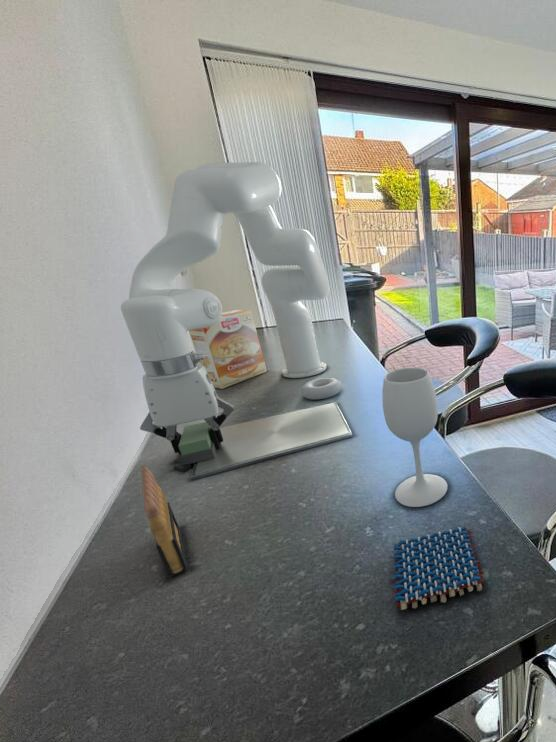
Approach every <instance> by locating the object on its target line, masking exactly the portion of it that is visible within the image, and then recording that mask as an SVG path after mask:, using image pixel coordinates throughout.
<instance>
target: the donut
mask: <svg viewBox="0 0 556 742" xmlns="http://www.w3.org/2000/svg"><path fill="white" fill-rule="evenodd" d="M300 390H301V392H300V393H301V395H302V397H304V398H305V399H307V400H313V401H315V400H325V399H329V398H332V397H334V396H336V395H338V394H339V393H340V392H341V390H342V383H341V381H340V380H338V379H337V378H334V377H320V378H316V379H315V378H314V379H312V380H309V381H308V382H306V383H304V384H303V385H302V386H301V389H300Z"/></svg>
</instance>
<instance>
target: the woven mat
mask: <svg viewBox="0 0 556 742" xmlns="http://www.w3.org/2000/svg"><path fill="white" fill-rule="evenodd" d="M472 540H473V539H472V535H471V534H470V529H467V527H466V526H463V527H459V526H458V527H457V528H456V527H455V528H453V529H451V528H450V529H449V530H444V529H442V532H441V531H438V532H433V534H431V535H430V534H427V535H425V534H424V535H422V536H421V537H420V536H417V537H412V538H410V539H405V540H404V539H402V540H400V541H399V542H397V543H394V545H393V551H395V552H394V554H393V559H394V565H393V566H394V569H395V571H394V579H395V583H394V584H395V586H394V589H395V601H396V603H395V607H396V608H399V609H400V611H403V610H407V609H408V607H409V605H410V604H411V608H412V609H415V610H416V609H417V608H418V607H419V605H418V604H419V603H418V601H421V605H426V604H427V602H428V599H427V598H430V603H435V602H437V600H438V599H437V596H439V599H440V603H444V604H445V603H447V595H449V598H451V597H452V598H453V597H455V596H456V594H457V593H458V594H459V596H460V597H462V596H463V595H465V592H464V589H467V592H469V593H470V592H473V590H474V586H475V588H476V591H477V592H481V591H482V590H483V586H482V584H484V583H485V580H484V578H483V570H482V569H479V568H480V564H479V563H480V561H479V560H478V559H477V554H476V550H475V545H474V544H473V543H472V542H473V541H472ZM397 569H398V570H397ZM399 601H400V602H399Z"/></svg>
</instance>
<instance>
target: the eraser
mask: <svg viewBox="0 0 556 742" xmlns="http://www.w3.org/2000/svg"><path fill="white" fill-rule="evenodd" d="M181 435H182V436H181V439H180V442H179V445H178V447H179V449H180V452H181V456H180V455H179V457H180V459H181V462H182V464H183V465H187V464H190V465H191V464H194V463H195V462H199V461H203V460H207V459H211V458H214V457H215V452H216V448H215V445H214V442H213V441H212V438H211V435H210V426H209V425H208V424H207V422H206V421H204V422H198V423H194V424H190V425H185V426H184V427H183V430H182V433H181Z"/></svg>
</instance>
